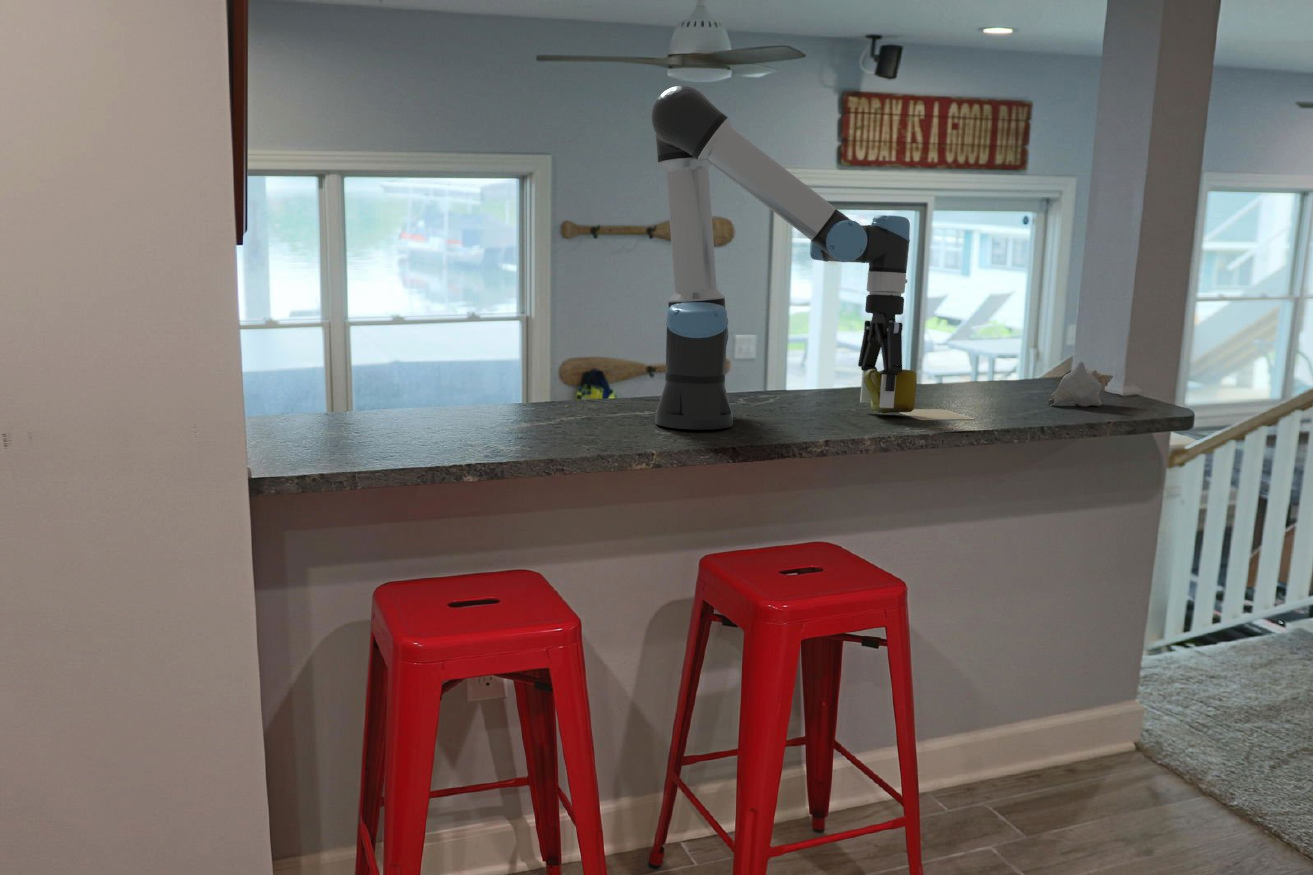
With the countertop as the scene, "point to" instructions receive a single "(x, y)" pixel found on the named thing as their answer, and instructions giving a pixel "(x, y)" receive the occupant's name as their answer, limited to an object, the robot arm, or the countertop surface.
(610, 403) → the countertop surface
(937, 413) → the mat
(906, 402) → the mug
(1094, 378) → the seashell
